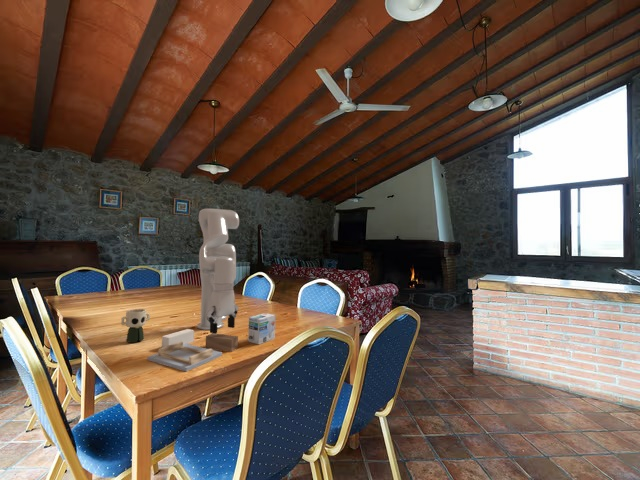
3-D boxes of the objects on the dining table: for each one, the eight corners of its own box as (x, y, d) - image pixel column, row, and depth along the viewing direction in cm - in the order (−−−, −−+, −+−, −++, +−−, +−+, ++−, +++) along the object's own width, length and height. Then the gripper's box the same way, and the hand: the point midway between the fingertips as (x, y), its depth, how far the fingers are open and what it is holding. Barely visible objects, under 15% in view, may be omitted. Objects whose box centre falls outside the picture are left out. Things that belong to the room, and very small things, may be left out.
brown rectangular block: (212, 345, 123) (212, 333, 123) (237, 348, 120) (238, 336, 120) (205, 348, 119) (205, 336, 119) (231, 352, 115) (232, 339, 115)
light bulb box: (258, 345, 124) (259, 319, 124) (247, 342, 127) (248, 317, 128) (275, 338, 133) (276, 314, 133) (264, 335, 136) (265, 312, 137)
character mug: (124, 346, 118) (125, 314, 118) (117, 342, 122) (118, 311, 122) (152, 339, 127) (153, 309, 127) (144, 336, 131) (146, 307, 131)
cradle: (180, 347, 115) (180, 341, 115) (212, 355, 108) (212, 349, 108) (158, 355, 106) (158, 348, 106) (191, 365, 99) (191, 357, 99)
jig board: (185, 346, 120) (185, 343, 120) (222, 355, 111) (222, 352, 111) (147, 359, 105) (147, 356, 105) (186, 371, 97) (186, 367, 97)
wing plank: (187, 340, 128) (187, 328, 128) (193, 342, 126) (194, 330, 126) (161, 348, 117) (162, 336, 117) (168, 350, 115) (168, 338, 115)
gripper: (231, 285, 129) (230, 324, 128) (200, 289, 113) (198, 334, 112) (245, 286, 125) (244, 326, 125) (214, 290, 110) (213, 336, 109)
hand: (222, 330), depth 119 cm, fingers open, 9 cm apart
